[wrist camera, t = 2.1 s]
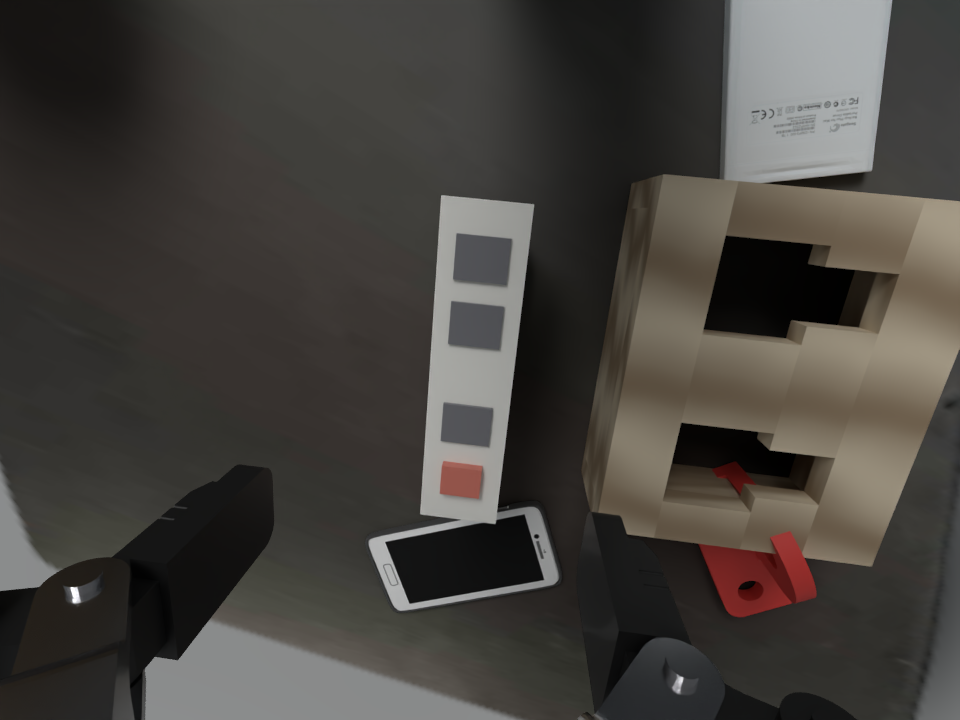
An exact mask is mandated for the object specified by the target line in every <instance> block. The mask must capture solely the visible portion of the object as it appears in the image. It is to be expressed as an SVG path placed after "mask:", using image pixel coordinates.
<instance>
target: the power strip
mask: <svg viewBox="0 0 960 720" xmlns="http://www.w3.org/2000/svg"><path fill="white" fill-rule="evenodd" d="M533 210H534V204H526V203H515V202H505V201H495V200H484V199H474V198H464V197H453V196H443V195H441V208H440V223H439V238H438V254H437V269H436V284H435V299H434V314H433V329H432V344H431V359H430V374H429V389H428V404H427V419H426V435H425V450H424V465H423V480H422V495H421V510H420V514H423V515H430V516H438V517H445V518H453V519H460V520H468V521H475V522H483V523H490V524H496V516H497V508H498V500H499V491H500V483H501V475H502V467H503V458H504V450H505V442H506V433H507V425H508V417H509V409H510V400H511V392H512V384H513V376H514V367H515V359H516V351H517V343H518V334H519V326H520V318H521V310H522V301H523V293H524V285H525V276H526V268H527V260H528V252H529V243H530V235H531V227H532V219H533Z"/></svg>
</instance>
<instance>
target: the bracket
mask: <svg viewBox="0 0 960 720" xmlns="http://www.w3.org/2000/svg"><path fill="white" fill-rule="evenodd" d="M712 471H713V472H714V473H715V475H716V476H717V478H725V479H728V480H729V481H730V483H731V484H732V485H733V486H734V488H735V489H736V490H737V492H738V493H739V494H741V491H742V488H743V484H751V485H756V484H755V483H754V482H753V480H752V479H751V478H750V477H749V476H748V475H747V474H746V472H745V471H744V470H743V469H742V468H741V467H740V466H739V464H738V463H737V462H736V461H734V462H732V463H729V464H726V465H723V466H720V467H717V468H714V469H712ZM770 538H771V541H772V544H773V547H774V549H775V552H776V554H773V553H766V552H758V551H750V550H743V549H735V548H728V547H720V546H712V545H705V544H698V545H699V547H700V550H701V552H702V555H703V557H704V560H705V562H706V565H707V567H708V569H709V572H710V574H711V577H712V579H713V582H714V584H715V587H716V589H717V591H718V594H719V596H720V599H721V601H722V602H723V604H724V606H725V608H726V610H727V612H728V613H729V614H731V615H733V616H736V617H745V616H749V615H752V614H756V613H759V612H763V611H766V610H770V609H774V608H777V607H781V606H784V605H788V604H792V602H793V603H798V602H802V601H805V600H809V599H813V598H815V597H816V595H817V592H816V587H815V583H814V580H813V577H812V575H811V572H810V570H809V567H808V565H807V563H806V560H805V558H804V556H803V554H802V552H801V550H800V548H799V546H798V544H797V542H796V541H795V539H794V537H793V535H792V533H791V532H790V531H788V532H785V533H782V534H779V535H775V536H772V537H770ZM747 581H756V583H755V585H754V586H753V587H751V588H749V589H746V590H740V589H738V588H739V586H740V585H741V584H742V583H744V582H747Z"/></svg>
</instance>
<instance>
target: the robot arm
mask: <svg viewBox="0 0 960 720" xmlns="http://www.w3.org/2000/svg"><path fill="white" fill-rule="evenodd" d="M273 526H274V506H273V480H272V473H271V470H270V469H268V468H263V467H255V466H247V465H236V466H235V467H234V468H232V469H231V470H230V471H229V472H228V473H227V474H225V475H224V476H223V477H222V478H221V479H220V480H219V481H217V482H213V481H212V482H210V483H208V484H206V485H204V486H202V487H199V488H197V489H195V490H193V491H191V492H190V493H188V494H187V495H186V496H185V497H184V498H182V499H181V500H180V501H179V502H178V503H176V504H175V506H174V508H170V509H169V510H168V511H167V512H166V513H165V514H163V515H162V516H161V519H157V520H156V521H155V522H154V523H153V524H151V525H150V526H149V527H148V528H147V529H145V530H144V531H143V532H142V533H141V534H139V535H138V536H137V537H136V538H135V539H133V540H132V541H131V542H130V543H129V544H127V545H126V546H125V547H124V548H123V549H121V550H120V551H119V552H118V553H117V554H115V555H114V556H113V557H112V558H110V557H106V558H95V559H90V560H86V561H82V562H79V563H76V564H74V565H71V566H69V567H67V568H64V569H63V570H61V571H59V572H57V573H56V574H54V575H53V576H51V577H50V578H48V579H47V580H46V581H45V582H44V583H43V584H42V585H41V586H40V587H37V588H27V589H16V590H7V591H0V720H145V701H146V698H145V697H146V678H145V677H146V676H145V667H146V666H147V665H148V664H149V663H150V662H151V661H152V659H153V658H154V657H161V658H167V659H173V660H178V659H179V658H180V657H181V656H182V654H183V653H184V652H185V650H186V649H187V648H188V646H189V645H190V644H191V643H192V641H193V640H194V639H195V637H196V636H197V635H198V633H199V632H200V631H201V630H202V628H203V627H204V625H205V624H206V623H207V622H208V621H209V619H210V618H211V617H212V615H213V614H214V613H215V612H216V610H217V609H218V608H219V606H220V605H221V604H222V603H223V601H224V600H225V599H226V597H227V596H228V595H229V594H230V592H231V591H232V590H233V588H234V587H235V586H236V584H237V583H238V582H239V581H240V579H241V578H242V577H243V575H244V574H245V573H246V572H247V570H248V569H249V568H250V566H251V565H252V564H253V563H254V561H255V560H256V559H257V557H258V556H259V555H260V553H261V552H262V551H263V550H264V548H265V547H266V545H267V544H268V542H269V540H270V537H271V534H272V531H273ZM577 594H578V601H579V608H580V615H581V622H582V628H583V635H584V642H585V649H586V656H587V663H588V670H589V677H590V684H591V690H592V697H593V704H594V711H595V715H594V716H593V717H592V716H591V715H590V714H589V713H588V712H585V713H583V714H582V715H581V716H580V717H579V718H578V719H577V720H857V719H855V718H854V717H853V716H852V715H851V714H849V713H848V712H847V711H845V710H844V709H842V708H841V707H839V706H838V705H836V704H834V703H833V702H831V701H829V700H826V699H824V698H822V697H819V696H817V695H813V694H809V693H802V692H799V693H792V694H789V695H787V696H786V697H785V698H784V699H783V700H782V702H781V705H780V708H777V707H774V706H772V705H769V704H767V703H765V702H762V701H760V700H758V699H755V698H753V697H750V696H748V695H746V694H743V693H741V692H739V691H737V690H735V689H733V688H731V687H730V686H728V685H726V684H725V683H724V681H723V679H722V676H721V674H720V673H719V671H718V669H717V668H716V666H715V665H714V664H713V663H712V662H711V660H710V659H709V658H708V657H707V656H705V655H704V654H703V653H702V652H701V651H699V650H698V649H696V648H695V647H693V646H692V645H691V642H690V640H689V637H688V635H687V632H686V629H685V627H684V624H683V622H682V619H681V617H680V614H679V612H678V609H677V607H676V604H675V601H674V599H673V596H672V594H671V591H669V586H668V584H667V581H666V579H665V577H663V571H662V568H661V566H660V563H659V561H658V558H657V556H656V555H655V554H654V553H653V551H652V550H651V549H650V548H649V547H648V546H647V545H646V544H645V543H644V542H643V541H642V540H639V539H632V538H628V536H627V533H626V530H625V527H624V524H623V520H622V518H621V516H620V515H613V514H606V513H598V512H591V511H590V512H589V513H588V515H587V518H586V523H585V528H584V534H583V539H582V544H581V550H580V555H579V560H578V567H577Z"/></svg>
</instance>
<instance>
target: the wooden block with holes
mask: <svg viewBox="0 0 960 720" xmlns="http://www.w3.org/2000/svg"><path fill="white" fill-rule="evenodd" d="M725 236H736V237H746V238H756V239H766V240H777V241H787V242H797V243H807V244H813V247H812V251H811V254H810V257H809V261H808V264H812V265H817V266H823V267H832V268H842V269H852V270H855V272H854V276H853V279H852V282H851V285H850V288H849V291H848V294H847V297H846V300H845V304H844V307H843V310H842V313H841V316H840V319H839V322H838V325H830V324H821V323H812V322H802V321H793V320H791V323H790V326H789V330H788V333H787V336H786V338H778V337H769V336H760V335H751V334H742V333H732V332H723V331H714V330H705V329H704V325H705V320H706V316H707V312H708V308H709V304H710V299H711V295H712V291H713V287H714V283H715V278H716V274H717V270H718V266H719V261H720V257H721V253H722V249H723V245H724V240H725ZM959 349H960V201H949V200H938V199H927V198H916V197H905V196H895V195H884V194H873V193H862V192H851V191H840V190H830V189H819V188H808V187H797V186H786V185H775V184H765V183H754V182H743V181H732V180H721V179H710V178H699V177H689V176H678V175H667V174H663V175H659V176H656V177H652V178H649V179H645V180H642V181H639V182H635V183H632V184H631V190H630V196H629V201H628V207H627V213H626V218H625V224H624V230H623V235H622V241H621V247H620V252H619V258H618V264H617V269H616V275H615V281H614V287H613V292H612V298H611V304H610V309H609V315H608V321H607V326H606V332H605V338H604V343H603V349H602V355H601V360H600V366H599V372H598V378H597V383H596V389H595V395H594V400H593V406H592V412H591V417H590V423H589V429H588V434H587V440H586V446H585V451H584V457H583V463H582V468H581V472H582V477H583V481H584V485H585V490H586V494H587V498H588V503H589V507H590V511H591V512H598V513H606V514H613V515H620V516H621V518H622V520H623V524H624V527H625V530H626V533H627V534H629V535H637V536H644V537H652V538H659V539H667V540H675V541H682V542H690V543H697V544H705V545H712V546H720V547H728V548H735V549H743V550H750V551H758V552H766V553H773V554H776V552H775V549H774V547H773V544H772V541H771V538H770V537H772V536H775V535H779V534H782V533H785V532H788V531H790V532H791V533H792V535H793V537H794V539H795V541H796V542H797V544H798V546H799V548H800V550H801V552H802V554H803V556H804V558H811V559H819V560H826V561H834V562H841V563H849V564H856V565H864V566H872V564H873V561H874V559H875V557H876V554H877V552H878V549H879V547H880V544H881V542H882V539H883V537H884V534H885V532H886V529H887V527H888V524H889V522H890V519H891V517H892V514H893V512H894V509H895V507H896V505H897V502H898V500H899V497H900V495H901V492H902V490H903V487H904V485H905V482H906V480H907V477H908V475H909V472H910V470H911V467H912V465H913V462H914V460H915V458H916V455H917V453H918V450H919V448H920V445H921V443H922V440H923V438H924V435H925V433H926V430H927V428H928V425H929V423H930V420H931V418H932V415H933V413H934V410H935V408H936V406H937V403H938V401H939V398H940V396H941V393H942V391H943V388H944V386H945V383H946V381H947V378H948V376H949V373H950V371H951V368H952V366H953V363H954V361H955V359H956V356H957V354H958V351H959ZM681 423H688V424H696V425H705V426H713V427H722V428H730V429H738V430H747V431H755V432H759V433H758V436H757V439H758V440H759V441H760V442H761V443H762V444H763V445H765V446H766V447H767V448H768V449H769V450H771V451H780V452H788V453H796V456H795V459H794V462H793V465H792V469H791V472H790V475H789V478H786V477H778V476H770V475H762V474H754V473H746V474H747V475H748V476H749V477H750V478H751V479H752V480H753V482H754V483H755V484H756V485H751V484H743V488H742V491H741V494H739V493H738V492H737V490H736V489H735V488H734V486H733V485H732V484H731V483H730V481H729V480H728V479H725V478H717V476H716V475H715V473H714V472H713V471H712V469H714V468H706V467H697V466H689V465H681V464H673V463H672V459H673V455H674V451H675V447H676V443H677V438H678V434H679V430H680V426H681Z"/></svg>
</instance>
